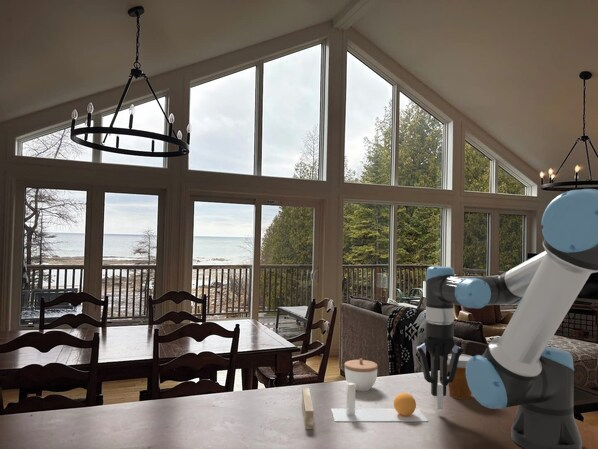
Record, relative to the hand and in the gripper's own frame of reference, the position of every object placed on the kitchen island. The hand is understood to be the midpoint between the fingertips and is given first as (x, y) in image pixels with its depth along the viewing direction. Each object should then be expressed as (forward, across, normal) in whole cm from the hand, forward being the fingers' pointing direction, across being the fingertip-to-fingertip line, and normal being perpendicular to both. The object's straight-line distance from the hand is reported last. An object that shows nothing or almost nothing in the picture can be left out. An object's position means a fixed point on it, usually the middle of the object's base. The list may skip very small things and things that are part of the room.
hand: (438, 407), depth 129 cm
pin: (+2, +24, 0) cm, 25 cm away
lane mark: (+2, +17, 0) cm, 17 cm away
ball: (-1, +10, 0) cm, 10 cm away
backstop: (+2, +36, 0) cm, 37 cm away
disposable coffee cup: (+2, -12, -16) cm, 20 cm away
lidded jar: (+3, +18, -23) cm, 29 cm away
